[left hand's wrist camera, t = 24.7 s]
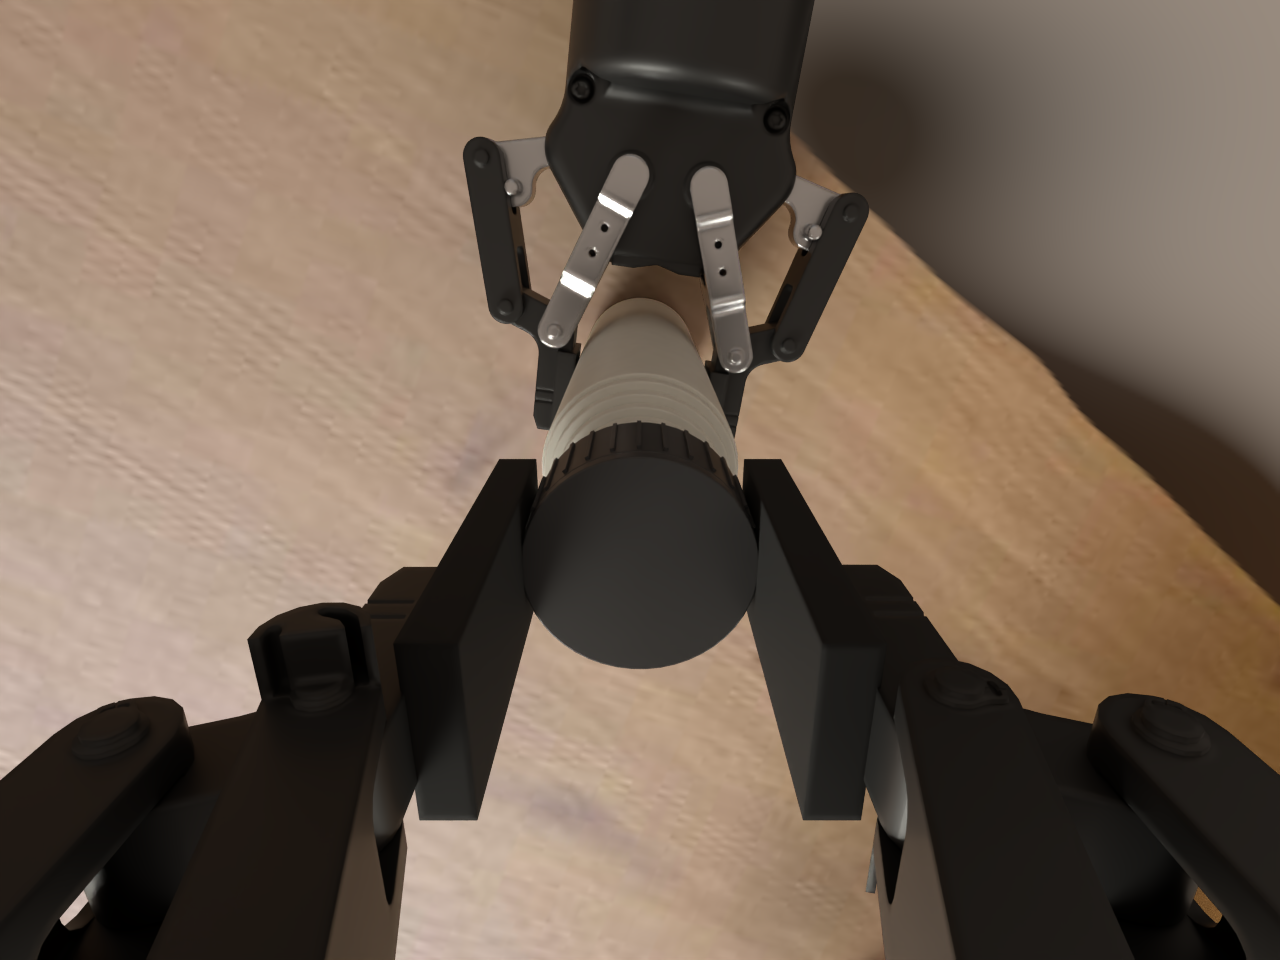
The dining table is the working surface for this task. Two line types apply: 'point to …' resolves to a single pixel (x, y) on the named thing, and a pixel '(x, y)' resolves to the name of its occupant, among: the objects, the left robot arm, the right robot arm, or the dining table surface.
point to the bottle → (640, 382)
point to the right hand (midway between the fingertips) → (630, 447)
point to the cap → (640, 547)
